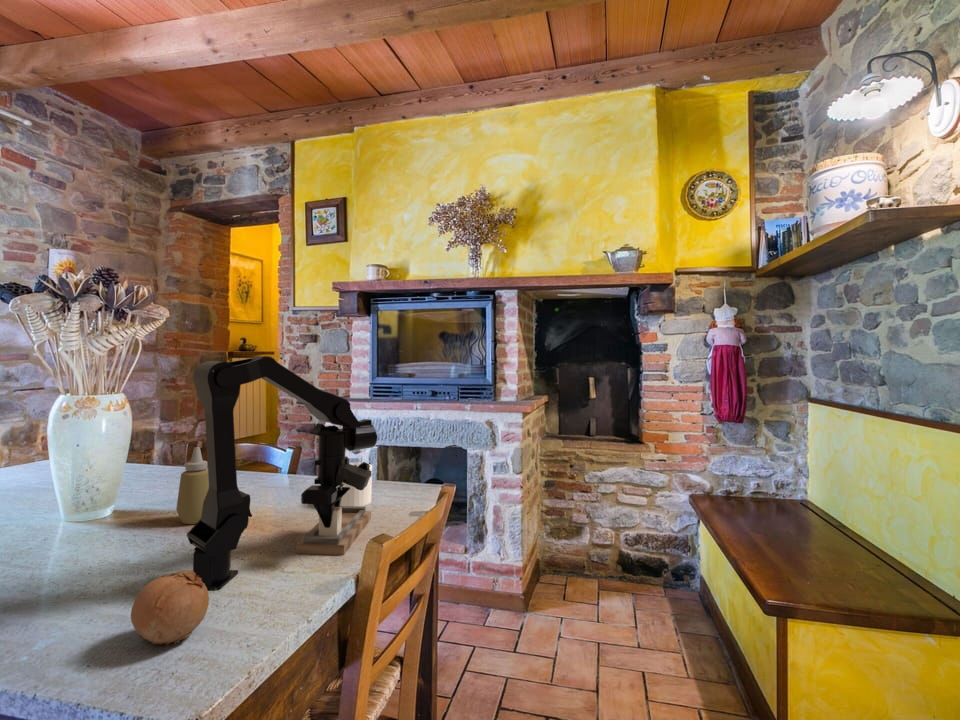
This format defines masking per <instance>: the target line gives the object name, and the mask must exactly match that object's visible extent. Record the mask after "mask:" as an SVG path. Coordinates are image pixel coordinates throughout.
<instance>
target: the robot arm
mask: <svg viewBox="0 0 960 720" xmlns="http://www.w3.org/2000/svg"><path fill="white" fill-rule="evenodd" d="M192 375H193V377H192V379H193V384H194V388H195V391H196V395H197V397H198V400H199V402H200V404H201V406H202V408H203V411H204V417H205V418H204V419H205V437H206V455H207V456H206V458H207V469H208V477H209V489H208V492H207V494H206V497H205V499H204V502H203V509H202V516H201V519H200V520H199V521H198V522H197V523H196V524H193V527H191V529H189V531H188V532H187V533H186V538H187V540H188V542H189V544H190V545H192V546H194V547H195V548H194V549H193V550H194V551H193V553H192V555H193V558H192V559H193V560H192V561H193V562H192V571H193V572H195V574H196V575H198V577H200V578H202V580H201V581H202V582H203V583H204V584H205V586H206V588H207V590H208V589H209V590H220V589H222V588H223V587H224V586H225V585H226V584H228V583H229V581H231V580H232V579H234V577H236V576H237V575H238V574H239V570H237V569H231V561H232V560H231V558H232V557H231V556H232V551H234V550H236V549H237V546H238V544H239V541H240V539H241V536H242V534H243V533H244V531H245V530H246V529H247V528H248V525H249V518H252V517H253V514H252V512H251V495H250V494H248V493H246V492H244V491H241V490H240V489H239V486H238V477H237V475H238V474H237V456H236V439H235V436H236V435H235V420H234V419H235V417H234V416H235V415H234V410H235V407H236V405H237V402H238V399H239V397H240V393H241V385H245V384H250V383H252V382H254V381H257V380H259V379H261V380H264V381H265V382H267V383H268V384H270V385H272V386H274V387H275V388H277V389H278V390H280V391H282V392H283V393H285V394H287V395H289V396H290V397H292V398H293V399H294V400H297V401H298V402H300V403H302V404H303V405H304V407H306V410H308V412H309V413H310V414H311V415H312V416H314V418H316V419H317V420H318V421H320V422H324V423H329V424H331V425H326V426H325V425H324V424H323V423H316V424H315V426H314V427H312V428H311V429H310V430H309V431H308V434H309V435H311V436H312V435H313V436H315V437H316V436H317V437H318V439H317V440H318V441H317V443H318V444H317V445H318V449H317V453H318V454H317V459H315V460H314V466H317V477H316V478H314V480H313V481H314V484H313V485H310V486H309V487H307V488H306V489H305V490H304V491H303V492H302V493H301V494H300V495H301V497H300V498H301V499H300V502H301V503H300V504H302V505H313V507H314V508H315V510H316V512H317V514H318V517H319V516H320V518H321V520H322V522H323V524H324V526H325V528H329V527H330V526H331V521H332V516H333V510H334V507H340V503H341V500H342V497H343V495H344V494H345V493H347V492H348V491H349V490H350V487H344V485H345V484H348V485H350V486H353V487H355V488H356V489H358V490H363V489H364V488H365V487H366V486H367V484H368V481H369V479H370V477H371V474H372V475H373V470H372V471H370V468H369V464H370V463H367V462H365V461H363V462H360V463H361V464H360V465H359V466H358V467H357V465H351V464H349V463H350V458H349V457H348V456H346V450H347V451H348V452H353V451H361V450H365V449H366V450H367V449H372V448H374V447H375V446H376V444H377V442H378V434H377V430H376V428H375V427H374V425H373V420H372V419H369V418H364V419H360V420H358V419H357V418H356V416H355V414H354V412H353V411H352V409H351V403H350V401H349V400H348V399H347V398H345V397H341V396H340V395H337V394H334V393H331V392H328V391H325V390H322V389H319V388H318V387H317V386H315V385H313V384H311V383H310V382H308V381H307V380H306V379H304V378H302V377H301V376H299V375H298V374H296V373H294V372H293V371H292V370H290V369H288V368H287V367H285V366H283V364H281V363H279V362H277V360H276V359H275V358H274V357H272V356H269V355H256V356H253V357H250V358H246V359H239V360H238V359H237V360H233V361H228V362H227V361H213V360H208V361H205V362H202V363H201V364H199V365H198V366H197V367H196V368H195V369H194V371H193V374H192ZM339 426H341V428H339ZM371 472H372V473H371ZM343 483H345V484H343Z"/></svg>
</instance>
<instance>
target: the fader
mask: <svg viewBox="0 0 960 720" xmlns="http://www.w3.org/2000/svg"><path fill="white" fill-rule="evenodd" d="M341 520H342V507H334V510H333V516H332V521H331V526H330V527H329V528H325V526H324V524H323V522H322V520H321V518H320V516H319V515H318V523H319V536H338V534H339V533H340V532H341Z"/></svg>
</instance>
